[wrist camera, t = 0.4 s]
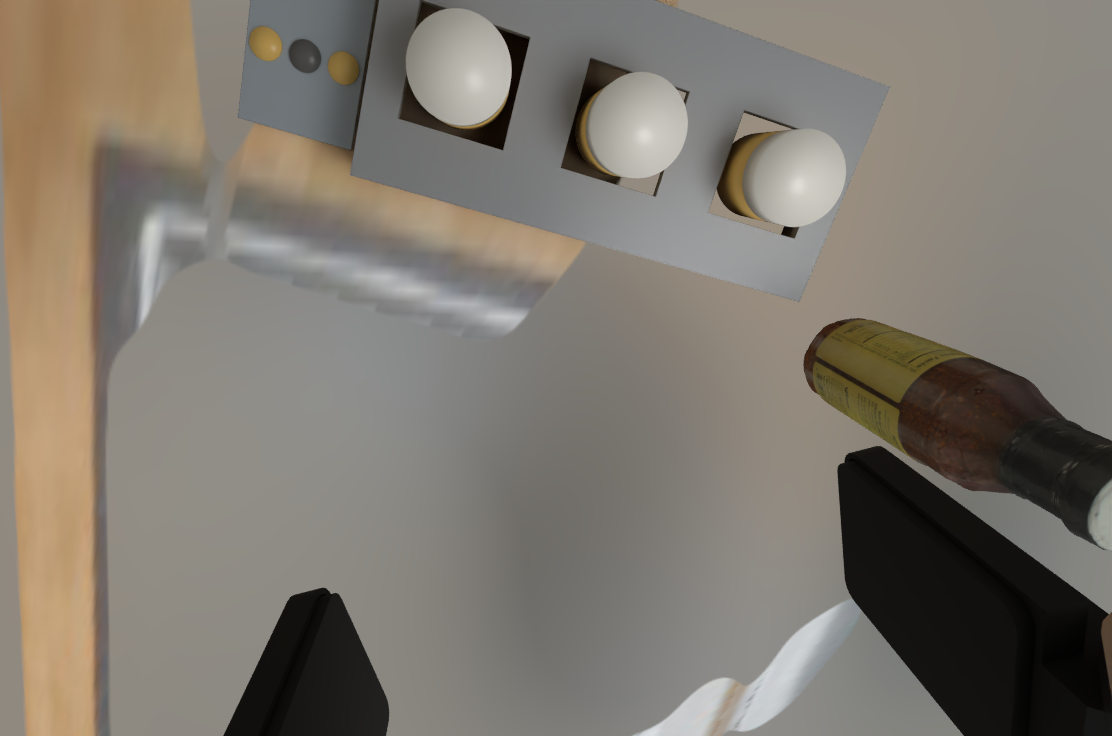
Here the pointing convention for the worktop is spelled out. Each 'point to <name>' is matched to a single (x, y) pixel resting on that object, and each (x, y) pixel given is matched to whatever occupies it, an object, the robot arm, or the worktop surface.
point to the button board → (549, 109)
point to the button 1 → (459, 68)
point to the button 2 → (783, 176)
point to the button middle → (632, 126)
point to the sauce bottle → (965, 420)
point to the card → (307, 66)
